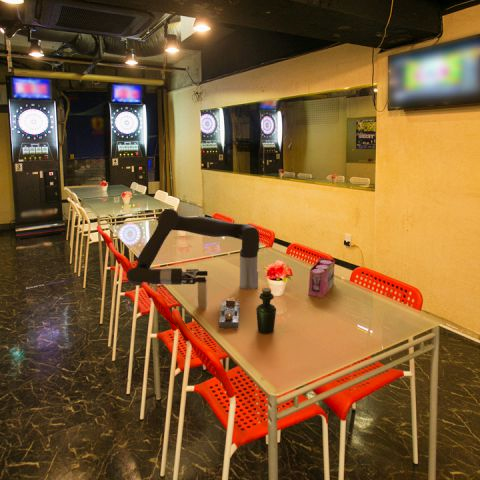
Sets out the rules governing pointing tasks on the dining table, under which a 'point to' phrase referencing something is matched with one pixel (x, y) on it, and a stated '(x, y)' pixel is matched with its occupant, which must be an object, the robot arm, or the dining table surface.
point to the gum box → (321, 277)
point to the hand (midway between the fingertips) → (206, 276)
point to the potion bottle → (266, 312)
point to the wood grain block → (202, 295)
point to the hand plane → (229, 314)
